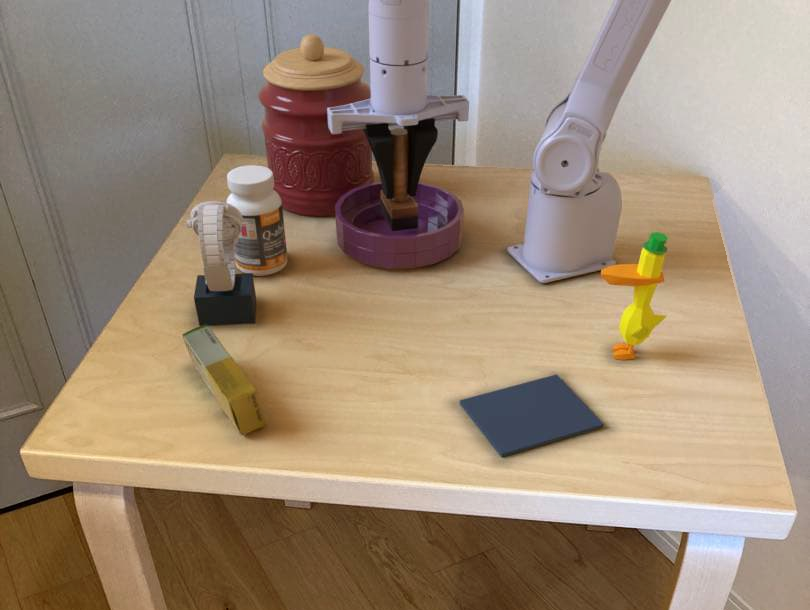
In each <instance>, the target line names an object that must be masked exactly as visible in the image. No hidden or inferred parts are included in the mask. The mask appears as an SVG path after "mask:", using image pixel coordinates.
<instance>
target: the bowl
mask: <svg viewBox="0 0 810 610" xmlns="http://www.w3.org/2000/svg"><path fill="white" fill-rule="evenodd" d="M381 190H382V184H381V181H376V182H375V181H374V183H370V184H365V185H363V186H360V187H357V188H355V189H352V190H350V191H349V192H347V193H346V194H344V195H343V196H341V197H340V199H339V200H338V202H337V203H336V205H335V216H334V217H335V229H336V230H335V231H336V232H335V233H336V243H337V246H338V248H339V249H340V250H341V251H342V253H343V254H344V255H346V256H348V257H350V258H351V259H353V260H354V261H356V262H359V263H362V264H365V265H368V266H371V267H372V266H373V267H376V268H384V269H385V268H386V269H394V270H395V269H413V268H414V269H416V268H420V267H425V266H431V265H434V264H437V263H439V262H442V261H443V260H446V259H448V258H450V257H451V256H452V255H453V254H455V253H456V252H457V251H458V250H459V249H460V247H461V243H462V241H463V236H464V235H463V232H464V217H465V216H464V215H465V209H464V206H463V202H462V200H461V198H459V197H458V196H456V194H455V193H454V192H452V191H450V190H448V189H445V188H444V187H442V186H439V185H436V184H432V183H427V182H424V181H419V182H418V187H417V192H416V196H412V197H413V199H414V200H415V202H416V204H417V205H418V228H415V229H407V230H399V231H392V230H391V229H390V227H389V225H388V223H387V221H386V220H385V218H384V216H383V214H382V212H381Z"/></svg>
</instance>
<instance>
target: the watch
mask: <svg viewBox="0 0 810 610" xmlns="http://www.w3.org/2000/svg"><path fill="white" fill-rule="evenodd" d="M186 228H187V229H192V230H193V232H194V233H195V235H197V236H198V238H199V247H200V254H201V259H202V267H201V268H202V272H203V274H197V275H196V282H195V288H194V294H193V301H194V305H195V310H196V315H197V320H198V327H200V326H203V325H206V324H207V326H224V325H226V326H228V325H246V324H247V325H249V324H256V315H257V295H256V288H255V287H256V286H255V281H254V275H253V273H244V272H241V273H236V263H235V251H234V245H237V244H238V239H239V235H240V232H241V230H242V214H241V213H240V211H239V210H238V209H237V208H235V207H234V206H232V205H230V204H228V203H226V202H224V201H217V200H209V201H204V202H201V203H199V204H197V205H195V206H194V207H193V208H192V210H191V211H190V219H186Z"/></svg>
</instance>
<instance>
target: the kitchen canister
mask: <svg viewBox="0 0 810 610" xmlns="http://www.w3.org/2000/svg"><path fill="white" fill-rule="evenodd" d="M324 45H325V44H324V42H323V40H322V39H321V37H320V36H318V35H317V34H315V33H314V34H313V33H309V34H306V35H305V36H303V37H302V39H301V42H300V46H299V47H295V48H291V49H288V50H285V51H282V52H280V53H278V54H277V55H276V56H275V57H274V59H273V60H271V61H270V62H269V63H268V64H266V65H265V67H264V68H263V70H262V75H263V77H264V79H265V80H266V81H267V82H266V83H265V84H263V85H262V86H261V87H260V89H259V91H258V94H257V98H258V101H259V102H260V104H261V105H262V106H263V108H264V119H263V120H262V122H261V129H262V132H263V137H264V144H265V152H266V153H265V154H266V162H267V168H269V169H270V170H271V171H272V172H273V177H274V188H273V190H274V191H276V192H277V193H278V195H279V196H280V198H281V202H282V209H283V210H285V211H288V212H290V213H294V214H299V215H303V216H304V215H305V216H312V217H313V216H314V217H315V216H316V217H317V216H318V217H321V216H334V215H335V205H336V203H337V202H338V200H339V199H340V197H341V196H343V195H344V194H346V193H347V192H349V191H350V190H352V189H355V188H357V187H360V186H363V185H365V184H370V183H375V172H374V169H373V152H372V150H371V147H370V145H369V143H368V140H367V138H366V136H365V134H364V132H363V130H362V129H356V130H346V131H342V133H341V134H332V133H331V132H330V130H329V128H328V114H327V108H330V107H337V106H343V105H347V104H351V103H355V102H359V101H363V100H367V99H371V89H370V84H368V82H366V81H364V80H363V79H362V77H363V75H364V74H365V68H364V65H362V64H361V62H360V61H358V60H356V59H355V58H353V57H351V55H350V54H349V53H347V51H344V50H342V49H338V48H334V47H328V46H324Z"/></svg>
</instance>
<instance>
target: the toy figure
mask: <svg viewBox="0 0 810 610" xmlns="http://www.w3.org/2000/svg"><path fill="white" fill-rule="evenodd" d="M668 239H669V237H668V236H667V235H666V234H665V233H662V232H659V231H655V232H651V233H650V235H649V239H648V240H647V241H644V242H643V243H642V248H641V251H640V255H639V260H638V263H624V264H615V265H612V266H608V267H606V268H604V269H602V270H600V277H601V278H602V279H603V280H604V281H605V282H606V284H608V285H609V286H621V287H634V289H633V302H632V303H631V304H629V306H627V307H625V309H624V311H623V312H622V314H621V317H620V322H619V327H618V331H619V333H620V335H621V338H622V339H623V341H624V342H625V343H623V342H620V343H617V344H614V345H613V346H612V352H613V358H614V359H615V360H619V361H627V360H635V359H636V355H635V350H634V347H635V346H638V345H641V344H642V343H643V342H644V341H646V340H647V339H648V338H650V335H651V333H652V331H653V330H654V329H655V328H656V327H657V326H659V324H660V323H662V322H663V321H664V320H665V319H666V318H667V317H668V315H662V314H655V313H654V311H653V309H652V307H651V305H650V304H651V302H652V299H653V296H654V294H655V291H656V289H657V286H658V284H663V283H664V282H665V281H666V279H665V276H664V272H663V271H662V269H663V265H664V261H665V258H666V257H665V256H666V253H667V252H668V247H667V246H666V243H667V241H668Z"/></svg>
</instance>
